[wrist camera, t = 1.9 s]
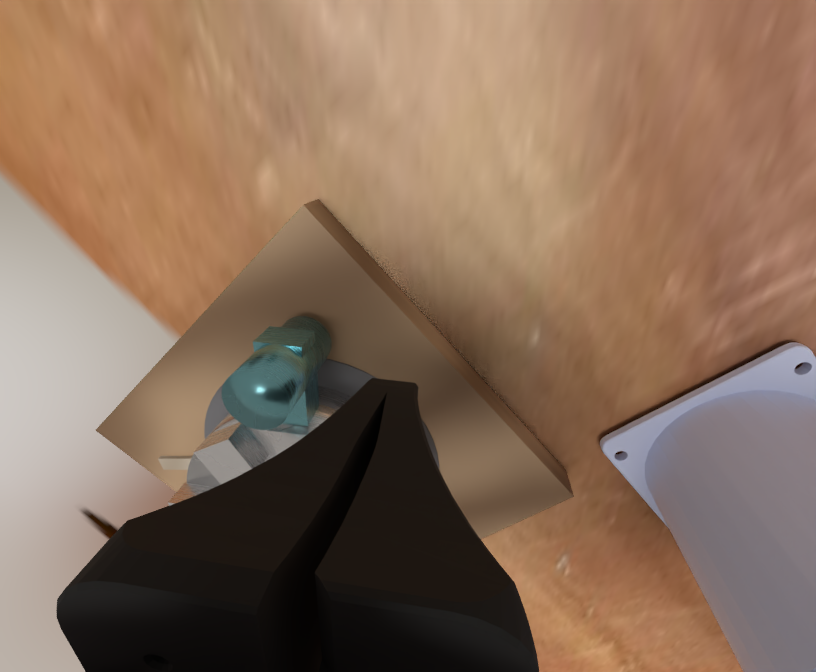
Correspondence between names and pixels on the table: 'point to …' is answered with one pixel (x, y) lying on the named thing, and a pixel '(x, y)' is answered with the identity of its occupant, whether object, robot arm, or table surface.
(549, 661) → the table surface
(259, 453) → the rotary knob
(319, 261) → the dial board
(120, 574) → the robot arm
